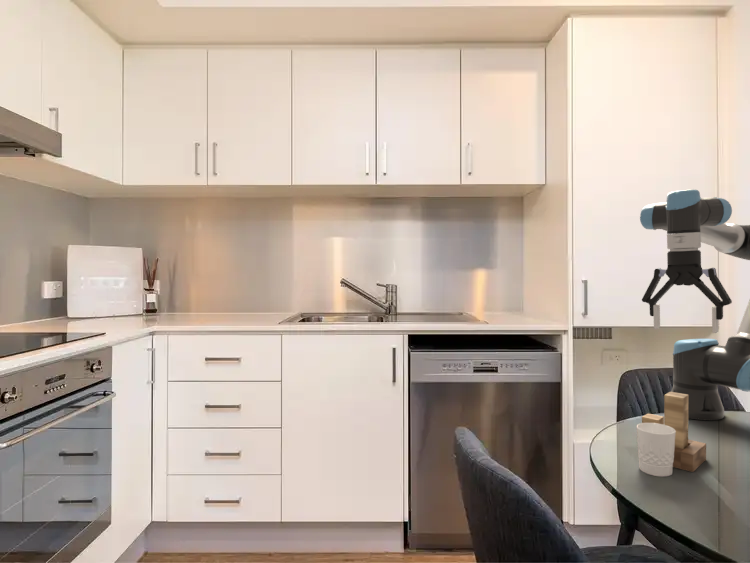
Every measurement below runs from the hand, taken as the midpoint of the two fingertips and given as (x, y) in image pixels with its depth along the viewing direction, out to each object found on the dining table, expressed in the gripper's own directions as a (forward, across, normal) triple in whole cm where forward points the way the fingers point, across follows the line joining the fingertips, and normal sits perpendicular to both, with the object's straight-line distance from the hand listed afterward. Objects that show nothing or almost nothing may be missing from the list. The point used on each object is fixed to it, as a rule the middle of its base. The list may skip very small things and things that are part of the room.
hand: (685, 330), depth 133 cm
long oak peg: (+29, +2, -16) cm, 34 cm away
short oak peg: (+29, -6, -8) cm, 31 cm away
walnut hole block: (+29, +2, -17) cm, 34 cm away
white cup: (+29, 0, -26) cm, 39 cm away
